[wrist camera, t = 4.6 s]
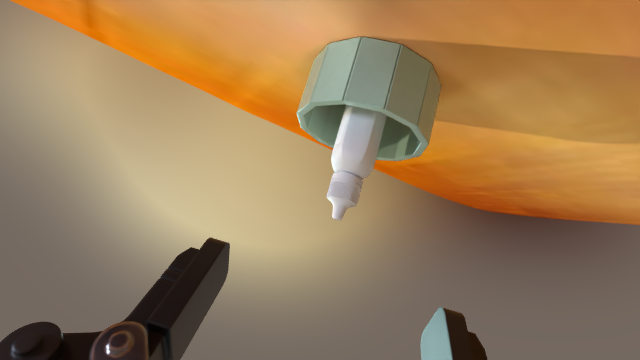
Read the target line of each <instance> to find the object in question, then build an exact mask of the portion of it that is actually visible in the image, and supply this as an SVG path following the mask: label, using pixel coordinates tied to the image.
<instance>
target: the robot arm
mask: <svg viewBox="0 0 640 360" xmlns="http://www.w3.org/2000/svg"><path fill="white" fill-rule="evenodd" d="M229 249H230V244H229V243H227V242H224V241H220V240H217V239H213V238H209V239H207V240H206V242H205V243H204V244H203V246H202V247H201V248H200V250H199V249H195V248H192V247H191V248H189V249H188V250H186V251H184V252H183V253H181V254H179V255H178V256H177V257H176V259H175V260H174V261H173V262H172V263H171V265H170V266H169V268H168V269H167V270H166V271H165V272H164V273H163V274H162V276H161V278H160V279H158V281H157V282H156V283H155V284H154V285H153V287H152V288H151V289H150V290H149V292H148V293H147V294H146V295H145V297H144V298H143V299H142V300H141V301H140V303H139V304H138V305H137V306H136V308H135V309H134V310H133V311H132V313H131V314H130V315H129V316H128V317H127V318H126V319H125V320H124V321H122V322H120V323H117V324H114V325H112V326H110V327H108V328H107V329H105V330H104V331H100V332H93V333H61V331H60V328H59V327H58V326H57V325H55V324H53V323H50V322H37V323H32V324H29V325H26V326H23V327H21V328H19V329H17V330H15V331H14V332H12V333H11V334H9V335H8V336H7V337H6V338H4V339H3V340H2V341H1V342H0V360H180V359H181V357H182V356H183V354H184V352H185V350H186V349H187V347H188V345H189V343H190V342H191V340H192V338H193V337H194V335H195V333H196V331H197V330H198V328H199V326H200V324H201V323H202V321H203V319H204V317H205V316H206V314H207V312H208V310H209V309H210V307H211V305H212V304H213V302H214V300H215V298H216V296H217V295H218V293H219V291H220V290H221V287H222V286H223V284H224V282H225V279H226V277H227V273H228V264H229ZM421 358H422V360H487V357H486V353H485V349H484V348H483V346H482V344H481V343H480V341H479V339H478V338H477V336H476V334H474V333H471V332H468V330H467V326H466V322H465V318H464V316H463V314H461V313H458V312H455V311H452V310H449V309H445V308H442V307H440V308H439V309H438V310H437V311H436V313H435V314H434V316H433V317H432V319H431V320H430V322H429V323H428V325H427V326H426V328H425V329H424V331H423V334H422V338H421Z"/></svg>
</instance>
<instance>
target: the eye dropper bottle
mask: <svg viewBox="0 0 640 360" xmlns="http://www.w3.org/2000/svg"><path fill="white" fill-rule="evenodd" d="M386 118H387V115H385V114H383V113H381V112H377V111H373V110H369V109H364V108H360V107H355V106H351V105H346V107H345V110H344V114H343V117H342V120H341V124H340V127H339V131H338V134H337V138H336V141H335V144H334V148H333V152H332V157H331V162H332V167H333V169H334V172H335V173H334V174H333V176H332V179H331V183H330V186H329V190H328V193H327V198H328V199H329V200H330V201H331V202H332V204H333V217H332V218H333V219H337V220H342V218H343V215H344V213H345V211H346V210H347V209H348V208H349V207H354V206H356V205H357V203H358V200H359V196H360V192H361V188H362V184H363V181H362V180H363V179H364V178H366V177H367V176H368V175H369V174H370V173H371V172H372V169H373V167H374V164H375V160H376V156H377V153H378V149H379V145H380V141H381V137H382V133H383V129H384V126H385V122H386Z"/></svg>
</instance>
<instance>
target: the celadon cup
mask: <svg viewBox="0 0 640 360" xmlns="http://www.w3.org/2000/svg"><path fill="white" fill-rule="evenodd" d="M440 91H441V84H440V81H439V79H438V77H437V74H436V72H435V70H434V68H433V65H432V64H431V63H430V62H429V61H427V60H426V59H424V58H423V57H421V56H419V55H418V54H416V53H415V52H413V51H412V50H410V49H409V48H407V47H405V46H404V45H401V44H398V43H393V42H388V41H383V40H377V39H372V38H367V37H362V38H361V37H357V38H352V39H347V40H342V41H338V42H333V43H330V44H328V45H327V46H326V47H325V48H324V49H323V50H322V52H321V53H320V54H319V55H318V56H317V57H316V58H315V59H314V62H313V65H312V68H311V71H310V74H309V77H308V80H307V83H306V86H305V89H304V92H303V95H302V98H301V101H300V104H299V107H298V110H297V116H298V120H299V123H300V126H301V128H302V129H303V130H305V131H306V132H307V133H308V134H310V135H311V136H312V137H313V138H315V139H316V140H317V141H319V142H320V143H323V144H325V145H327V146H329V147H332V148H334V144H335V141H336V138H337V134H338V131H339V127H340V124H341V120H342V117H343V114H344V110H345V107H346V105H351V106H355V107H360V108H364V109H369V110H373V111H377V112H381V113H383V114H385V115H387V118H386V122H385V126H384V129H383V133H382V137H381V141H380V145H379V149H378V153H377V156H376V160H389V161H401V160H405V159H410V158H414V157H418V156H421V154H422V153H423V151H424V150H425V149H426V147H427V146H428V144H429V141H430V136H431V132H432V127H433V123H434V118H435V113H436V109H437V104H438V100H439V95H440Z"/></svg>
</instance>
